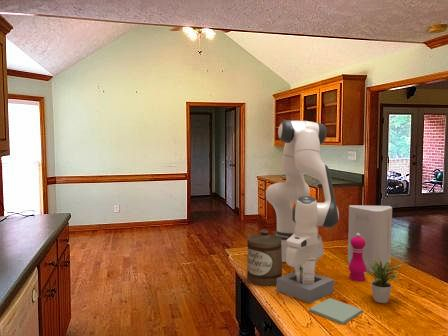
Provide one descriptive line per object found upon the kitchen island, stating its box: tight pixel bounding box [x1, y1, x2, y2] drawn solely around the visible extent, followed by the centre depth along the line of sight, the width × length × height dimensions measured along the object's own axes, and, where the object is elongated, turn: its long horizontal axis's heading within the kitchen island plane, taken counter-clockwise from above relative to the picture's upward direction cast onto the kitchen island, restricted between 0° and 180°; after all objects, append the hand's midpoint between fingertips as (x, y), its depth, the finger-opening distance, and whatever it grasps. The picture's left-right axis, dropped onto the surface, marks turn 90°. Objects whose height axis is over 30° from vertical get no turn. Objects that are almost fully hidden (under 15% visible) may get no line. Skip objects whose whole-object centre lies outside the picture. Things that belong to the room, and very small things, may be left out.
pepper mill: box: [348, 233, 367, 282], centre depth 162 cm, size 7×7×20 cm
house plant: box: [364, 257, 402, 304], centre depth 139 cm, size 14×14×16 cm
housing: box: [276, 271, 335, 304], centre depth 149 cm, size 16×16×5 cm
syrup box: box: [297, 256, 316, 285], centre depth 149 cm, size 6×6×14 cm
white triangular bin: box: [347, 204, 393, 273], centre depth 177 cm, size 19×15×28 cm
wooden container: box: [246, 228, 283, 287], centre depth 161 cm, size 15×15×22 cm
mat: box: [308, 297, 364, 326], centre depth 131 cm, size 13×13×1 cm
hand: (305, 272), depth 149 cm, fingers closed on syrup box, 8 cm apart
